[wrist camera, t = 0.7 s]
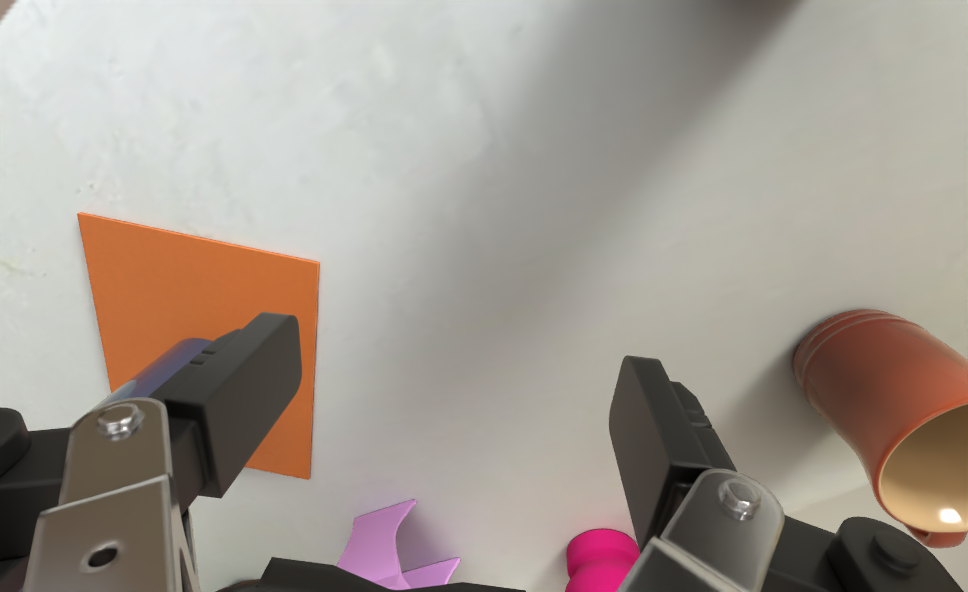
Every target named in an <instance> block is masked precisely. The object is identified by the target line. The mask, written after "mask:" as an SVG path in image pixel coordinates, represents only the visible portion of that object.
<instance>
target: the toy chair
mask: <svg viewBox="0 0 968 592" xmlns="http://www.w3.org/2000/svg"><path fill="white" fill-rule="evenodd" d="M416 503H417V501H416V500H415V499H413V500H410V501H407V502H403V503H400V504H397V505H394V506H391V507H388V508H385V509H381V510H378V511H375V512H372V513H369V514H366V515H363V516H359V517H357V518H355V519H354V524H353V529H352V533H351V536H350V539H349V542H348V544H347V546H346V548H345V551H344V553H343V554H342V556H341V558H340V560H339V562H338V564H337V567H339V568H341V569H344V570H346V571H348V572H351V573H353V574H355V575H358V576H360V577H362V578H365V579H367V580H369V581H372V582H374V583H376V584H379V585H381V586H383V587H386V588H388V589H392V590H405V589H413V588H421V587H429V586H437V585H445V584H447V582H448V580H449V578H450V576H451V575H452V573H453V572H454V570H455V568H456V567H457V565H458V564H459V562H460V561H461V560H460V559H459V558H455V559H451V560H447V561H444V562H440V563H436V564H433V565H429V566H425V567H422V568H418V569H414V570H411V571H407V572H404V573H402V572H401V569H400V563H399V558H398V554H397V550H396V541H395V538H396V532H397V529H398V527H399V525H400V523H401V522H402V520H403V519H404V517H405V516H406V515H407V513H408V512H409V511H410V510H411V509H412V507H413V506H414V505H415V504H416Z"/></svg>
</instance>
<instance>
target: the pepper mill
mask: <svg viewBox="0 0 968 592" xmlns="http://www.w3.org/2000/svg"><path fill="white" fill-rule="evenodd" d="M566 556H567V567H568V574H569V577H570V579H571V580H570V581H569V583H568V584H567V587H566V590H565V592H616V591H617V590H618V588H619V587H620V585H621V583H622V582H623V580H624V579H625V577H626V576H627V574H628V573H629V571H630V570H631V568H632V567H633V565H634V564H635V562H636V561H637V559H638V558H639V556H640V551H639V548H638V546H637V544H636V543H635V542H634V541H633V540H632V539H631V538H630V537H628V536H627V535H625V534H624V533H621V532H618V531H614V530H608V529H599V530H592V531H588V532H584V533H582V534H581V535H579V536H577V537H576V538H575V539H574V540H572V541H571V543H570V544H569V546H568V549H567V554H566Z"/></svg>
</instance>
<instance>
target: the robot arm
mask: <svg viewBox="0 0 968 592" xmlns="http://www.w3.org/2000/svg"><path fill="white" fill-rule="evenodd" d="M301 379H302V359H301V346H300V334H299V323H298V320H297V318H296V316H294V315H287V314H279V313H270V312H261V313H260V314H259V315H257V316H256V317H255V318H254V319H253V320H252V321H251V322H250V323H248V324H247V325H246V326H245V327H244V328H243V329H236V330H234V331H232V332H229V333H227V334H225V335H223V336H221V337H219V338H216V339H215V340H214V341H213V342H212V343H211V344H209V345H208V346H207V347H206V348H205V349H203V350H202V353H199V354H198V355H196V356H195V357H194V358H193V359H192V360H190V363H189V364H186V365H184V366H183V367H182V368H181V369H180V370H179V371H177V372H176V373H175V374H174V375H173V376H171V377H170V378H169V379H168V380H167V381H166V382H164V383H163V384H162V385H161V386H160V387H158V388H157V389H156V390H155V391H154V392H153V393H151V394H150V395H149V396H148V397H147V398H146V397H136V398H127V399H122V400H118V401H114V402H111V403H108V404H105V405H103V406H100V407H98V408H96V409H94V410H92V411H90V412H89V413H87V414H86V415H84V416H83V417H82V418H80V419H79V420H78V421H77V422H76V423H75V424H74V426H73V427H71V428H60V429H49V430H38V431H28V430H27V428H26V425H25V423H24V420H23V418H22V415H21V414H20V413H19V412H18V411H16V410H13V409H10V408H0V592H19V591H20V590H21V589H22V588H23V592H200V586H199V577H198V569H197V560H196V552H195V544H194V535H193V527H192V518H191V513H190V509H189V506H190V505H191V503H192V502H193V501H194V500H195V498H196V497H197V496H198V495H199V496H207V497H214V498H222V497H223V495H224V494H225V492H226V491H227V490H228V488H229V487H230V485H231V484H232V483H233V481H234V480H235V478H236V477H237V476H238V474H239V473H240V472H241V470H242V469H243V467H244V466H245V465H246V463H247V462H248V460H249V459H250V458H251V456H252V455H253V453H254V452H255V451H256V449H257V448H258V447H259V445H260V444H261V442H262V441H263V440H264V438H265V437H266V435H267V434H268V433H269V431H270V430H271V428H272V427H273V426H274V424H275V423H276V421H277V420H278V419H279V417H280V416H281V415H282V413H283V412H284V410H285V409H286V408H287V406H288V405H289V403H290V402H291V401H292V399H293V398H294V396H295V395H296V393H297V391H298V389H299V386H300V383H301ZM704 413H705V412H704V410H703V409H702V407H701V405H700V403H699V401H698V400H697V398H696V396H694V395H693V394H692V393H691V392H690V391H689V390H688V389H687V388H685V387H684V386H683V385H682V384H681V383H680V382H672V381H670V380H669V378H668V376H667V374H666V372H665V370H664V368H663V366H662V364H661V362H660V361H659V360H658V359H653V358H644V357H636V356H625V358H624V359H623V362H622V365H621V369H620V373H619V377H618V381H617V384H616V388H615V392H614V396H613V400H612V404H611V408H610V415H609V430H610V436H611V440H612V444H613V448H614V452H615V456H616V460H617V464H618V468H619V472H620V476H621V480H622V484H623V488H624V492H625V495H626V499H627V503H628V507H629V511H630V515H631V519H632V523H633V527H634V531H635V535H636V539H637V543H638V547H639V551H640V554H641V555H640V556H639V558H638V559H637V561H636V562H635V564H634V565H633V567H632V568H631V570H630V571H629V573H628V574H627V576H626V577H625V579H624V580H623V582H622V583H621V585H620V587H619V588H618V590H617V591H616V592H964V591H963V590H962V589H961V588H960V586H959V585H958V584H957V583H956V582H955V581H954V579H953V578H952V577H951V576H950V574H949V573H948V572H947V570H946V569H945V568H944V567H943V565H942V564H941V563H940V562H939V561H938V560H937V559H936V557H935V556H934V555H933V554H932V553H931V552H929V551H928V550H927V549H926V548H925V547H924V546H923V545H921V544H920V543H919V542H918V541H916V540H915V539H913V538H912V537H910V536H909V535H907V534H906V533H904V532H902V531H900V530H898V529H896V528H895V527H893V526H891V525H888V524H886V523H884V522H881V521H878V520H875V519H870V518H866V517H851V518H848V519H846V520H844V521H843V523H842V524H841V526H840V527H839V529H838V531H837V533H836V534H835V533H832V532H829V531H826V530H823V529H821V528H818V527H815V526H812V525H810V524H807V523H804V522H801V521H798V520H796V519H793V518H791V517H788V516H786V515H784V512H783V509H782V507H781V505H780V503H779V502H778V500H777V499H776V498H775V497H774V495H773V494H772V493H771V492H770V491H769V490H767V489H766V488H765V487H764V486H762V485H761V484H760V483H758V482H757V481H755V480H753V479H752V478H750V477H748V476H746V475H743V474H741V473H738V472H737V470H736V468H735V466H734V464H733V463H732V461H731V459H730V457H729V455H728V454H727V452H726V450H725V448H724V446H723V445H722V443H721V441H720V439H719V437H718V436H717V434H716V432H715V430H714V429H712V425H711V423H710V421H709V419H708V418H707V416H705V415H704ZM23 586H24V587H23ZM216 592H526V591H525V590H518V589H510V588H502V587H495V586H487V585H480V584H472V583H464V582H461V583H453V584H445V585H437V586H429V587H421V588H413V589H405V590H392V589H388V588H386V587H383V586H381V585H379V584H376V583H374V582H372V581H369V580H367V579H365V578H362V577H360V576H358V575H355V574H353V573H351V572H348V571H346V570H344V569H341V568H339V567H337V566H334V565H328V564H320V563H312V562H305V561H297V560H290V559H282V558H275V557H272V558H271V560H270V562H269V564H268V566H267V568H266V569H265V571H264V573H263V575H262V577H261V579H258V580H252V581H247V582H243V583H239V584H235V585H232V586H229V587H226V588H223V589H220V590H218V591H216Z"/></svg>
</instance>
